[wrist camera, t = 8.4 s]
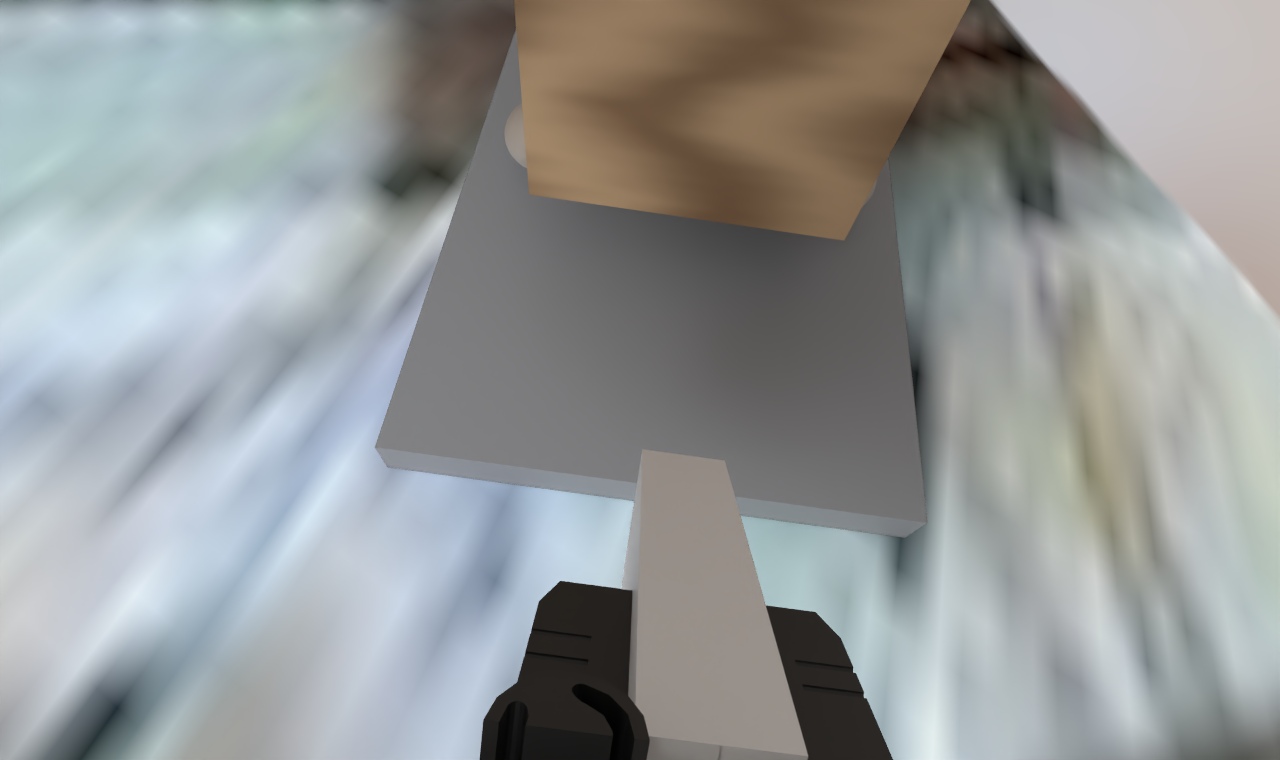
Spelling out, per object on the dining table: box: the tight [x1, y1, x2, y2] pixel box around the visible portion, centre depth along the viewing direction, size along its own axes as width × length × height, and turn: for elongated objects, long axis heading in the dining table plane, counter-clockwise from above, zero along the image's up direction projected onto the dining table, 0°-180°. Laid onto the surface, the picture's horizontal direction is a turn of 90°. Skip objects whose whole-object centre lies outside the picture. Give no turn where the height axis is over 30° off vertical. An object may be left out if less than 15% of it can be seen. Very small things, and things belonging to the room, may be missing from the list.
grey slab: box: [375, 30, 927, 538], centre depth 23 cm, size 16×22×6 cm
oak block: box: [504, 0, 971, 240], centre depth 22 cm, size 13×12×10 cm
